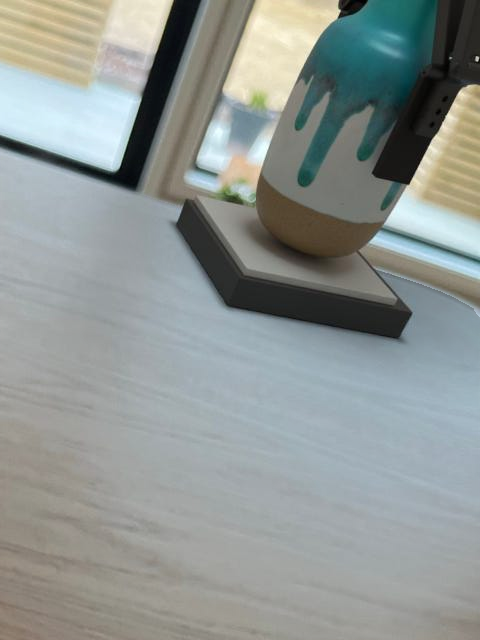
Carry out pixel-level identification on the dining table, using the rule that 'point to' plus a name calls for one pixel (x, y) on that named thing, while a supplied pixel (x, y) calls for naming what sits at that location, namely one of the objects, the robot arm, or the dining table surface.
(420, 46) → the vase
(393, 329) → the scale
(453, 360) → the dining table surface
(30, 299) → the dining table surface
